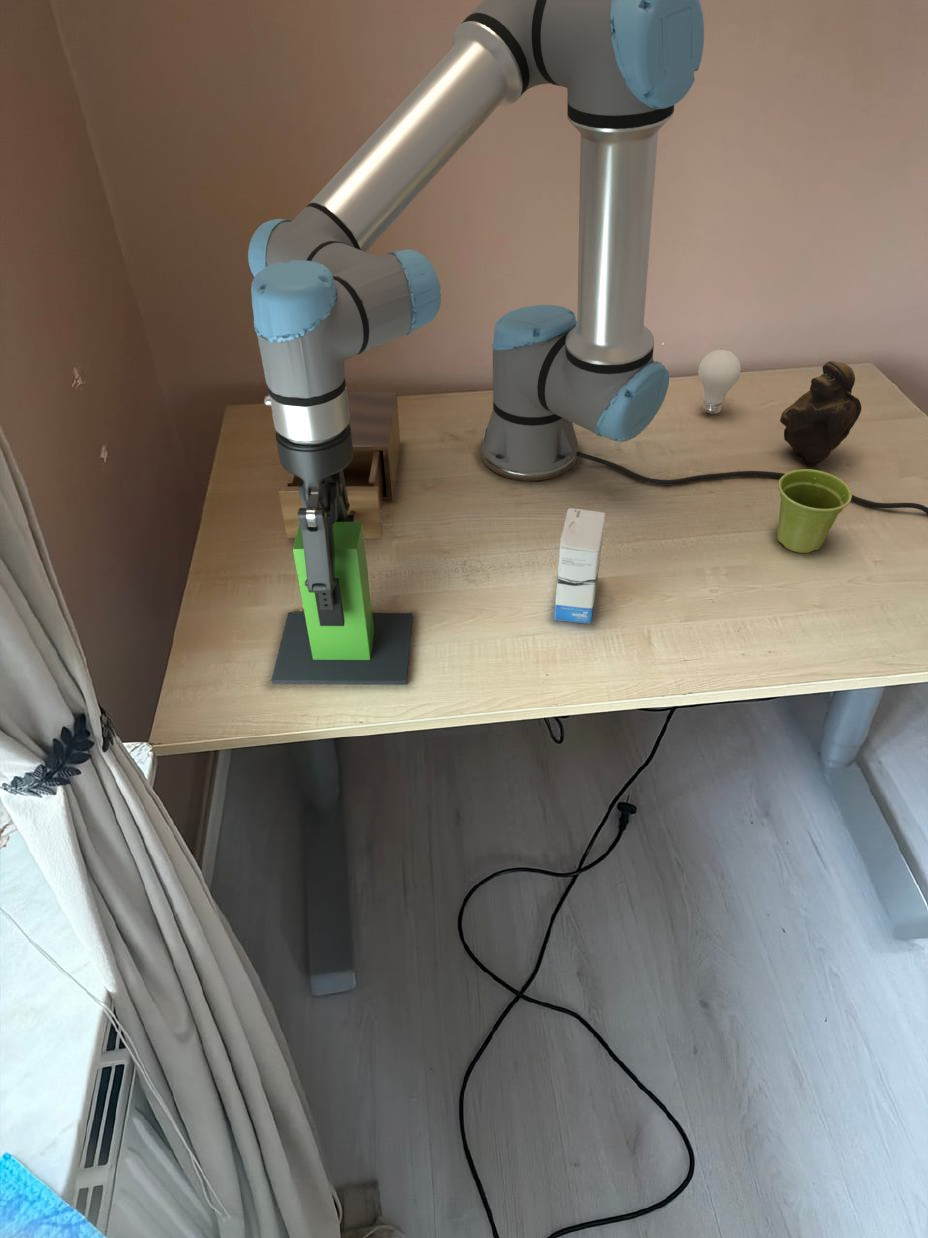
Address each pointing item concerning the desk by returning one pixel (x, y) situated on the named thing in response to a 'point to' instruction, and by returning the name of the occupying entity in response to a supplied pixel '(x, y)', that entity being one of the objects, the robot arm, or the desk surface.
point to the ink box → (579, 565)
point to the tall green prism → (355, 596)
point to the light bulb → (718, 378)
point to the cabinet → (377, 430)
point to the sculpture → (822, 414)
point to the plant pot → (809, 508)
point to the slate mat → (380, 669)
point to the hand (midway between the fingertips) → (337, 597)
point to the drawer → (362, 493)
